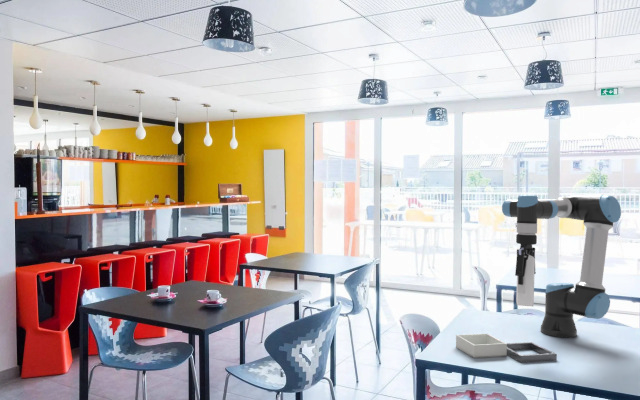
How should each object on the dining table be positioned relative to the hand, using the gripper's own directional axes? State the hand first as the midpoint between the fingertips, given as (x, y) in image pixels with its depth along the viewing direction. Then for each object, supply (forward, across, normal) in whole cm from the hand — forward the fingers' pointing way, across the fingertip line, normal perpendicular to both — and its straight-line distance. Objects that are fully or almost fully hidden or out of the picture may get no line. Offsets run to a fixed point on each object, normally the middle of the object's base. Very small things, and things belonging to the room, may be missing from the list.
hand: (525, 291), depth 200 cm
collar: (+25, -1, +1) cm, 25 cm away
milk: (+5, 0, 0) cm, 5 cm away
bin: (+25, +8, -14) cm, 30 cm away
